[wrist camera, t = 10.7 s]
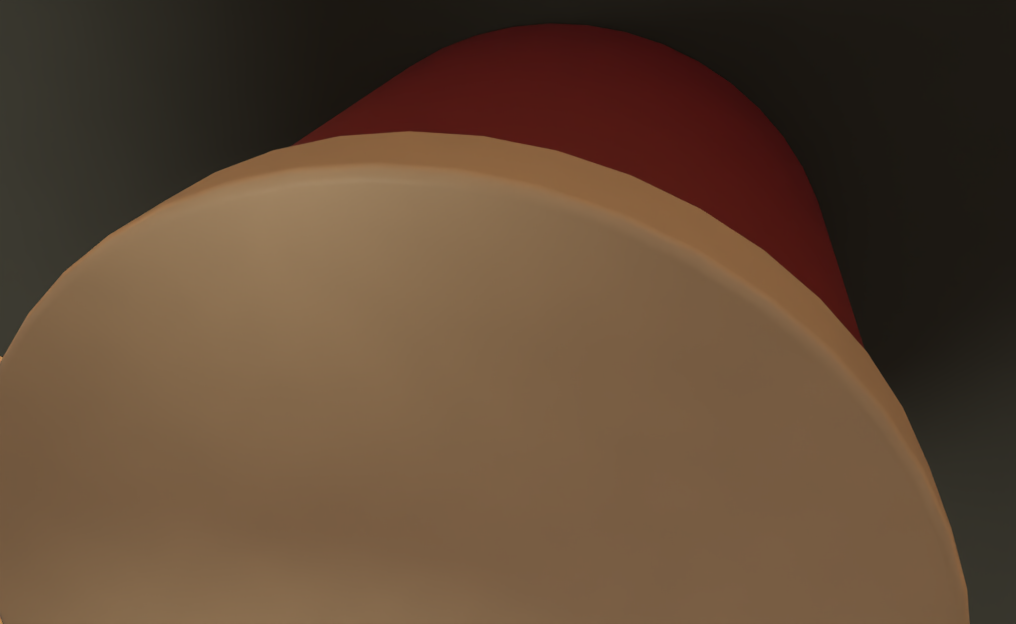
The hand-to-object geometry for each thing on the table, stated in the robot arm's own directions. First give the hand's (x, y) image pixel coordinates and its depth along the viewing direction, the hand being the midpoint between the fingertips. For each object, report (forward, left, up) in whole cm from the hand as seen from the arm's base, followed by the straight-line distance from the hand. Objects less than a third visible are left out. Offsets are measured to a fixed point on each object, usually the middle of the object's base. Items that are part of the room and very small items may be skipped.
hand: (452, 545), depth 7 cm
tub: (0, 0, -5) cm, 5 cm away
